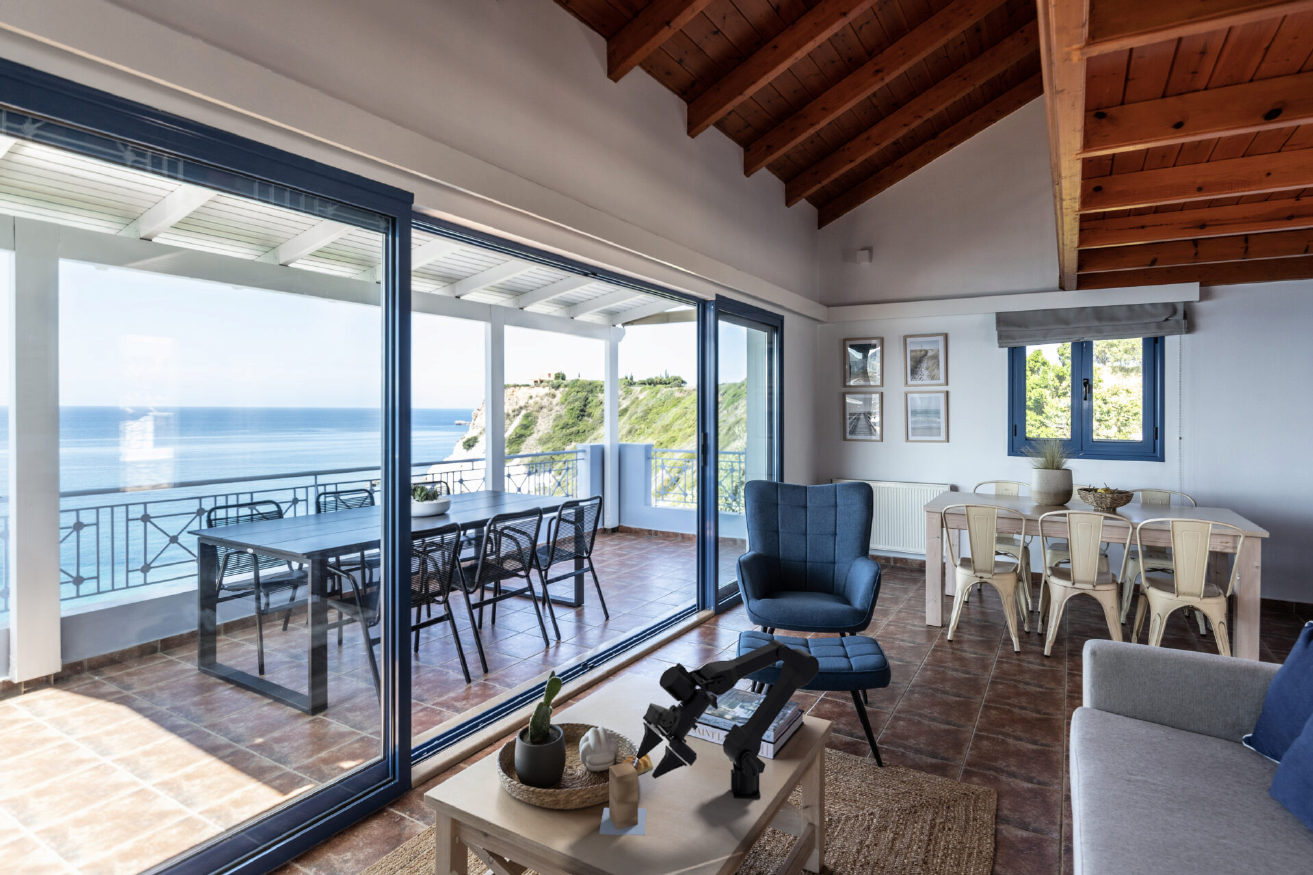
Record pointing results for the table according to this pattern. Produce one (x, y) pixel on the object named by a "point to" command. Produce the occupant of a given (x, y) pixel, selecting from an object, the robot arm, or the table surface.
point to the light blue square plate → (609, 828)
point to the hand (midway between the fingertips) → (645, 767)
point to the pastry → (642, 763)
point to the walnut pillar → (623, 795)
